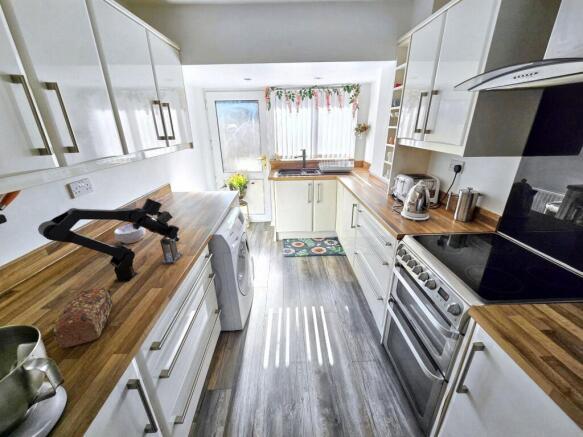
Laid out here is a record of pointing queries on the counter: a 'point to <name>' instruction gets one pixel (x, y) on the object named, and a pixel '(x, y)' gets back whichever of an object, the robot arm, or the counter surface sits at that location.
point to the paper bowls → (129, 233)
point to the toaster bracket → (169, 257)
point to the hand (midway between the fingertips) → (177, 235)
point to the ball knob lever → (168, 239)
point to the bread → (83, 317)
